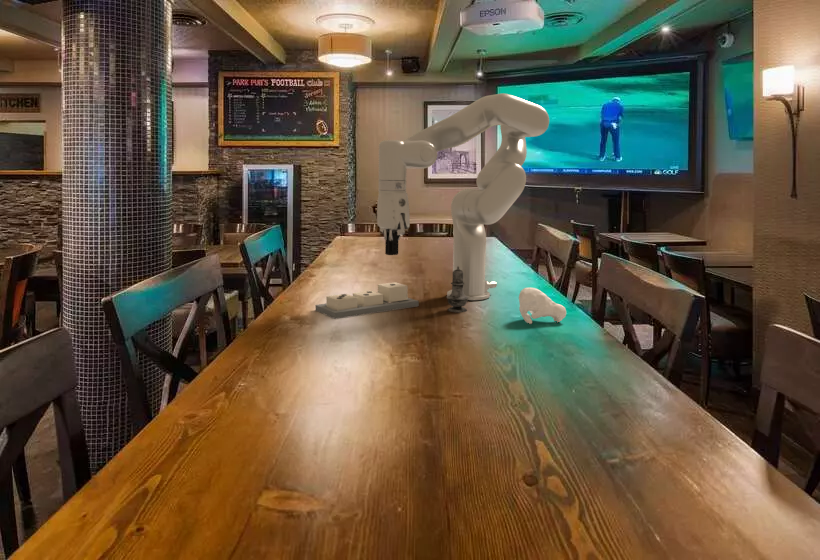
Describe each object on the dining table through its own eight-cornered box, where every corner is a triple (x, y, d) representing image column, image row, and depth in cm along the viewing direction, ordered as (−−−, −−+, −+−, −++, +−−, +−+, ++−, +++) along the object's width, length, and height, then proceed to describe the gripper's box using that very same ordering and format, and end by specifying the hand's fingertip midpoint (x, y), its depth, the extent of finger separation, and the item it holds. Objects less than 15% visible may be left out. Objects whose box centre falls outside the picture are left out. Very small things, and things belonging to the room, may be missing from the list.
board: (315, 310, 165) (315, 304, 165) (396, 299, 180) (396, 294, 180) (335, 318, 156) (334, 312, 156) (418, 306, 171) (418, 300, 171)
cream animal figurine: (519, 284, 157) (567, 290, 156) (515, 316, 158) (562, 322, 157) (520, 289, 151) (570, 295, 149) (516, 323, 152) (565, 329, 151)
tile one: (395, 296, 176) (395, 281, 176) (407, 299, 172) (407, 284, 171) (377, 298, 173) (377, 283, 172) (389, 302, 168) (389, 287, 167)
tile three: (346, 308, 168) (346, 293, 167) (357, 312, 163) (357, 296, 162) (326, 310, 164) (326, 295, 164) (337, 315, 159) (337, 299, 159)
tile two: (371, 304, 172) (371, 290, 171) (383, 308, 167) (383, 293, 167) (352, 307, 169) (352, 292, 168) (364, 311, 164) (363, 296, 163)
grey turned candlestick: (466, 313, 163) (468, 268, 161) (444, 312, 164) (445, 267, 162) (469, 308, 169) (470, 264, 167) (447, 307, 170) (448, 264, 168)
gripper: (419, 187, 163) (418, 257, 166) (389, 186, 175) (388, 250, 178) (396, 188, 159) (395, 258, 162) (366, 186, 171) (366, 252, 174)
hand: (391, 254), depth 170 cm, fingers closed
